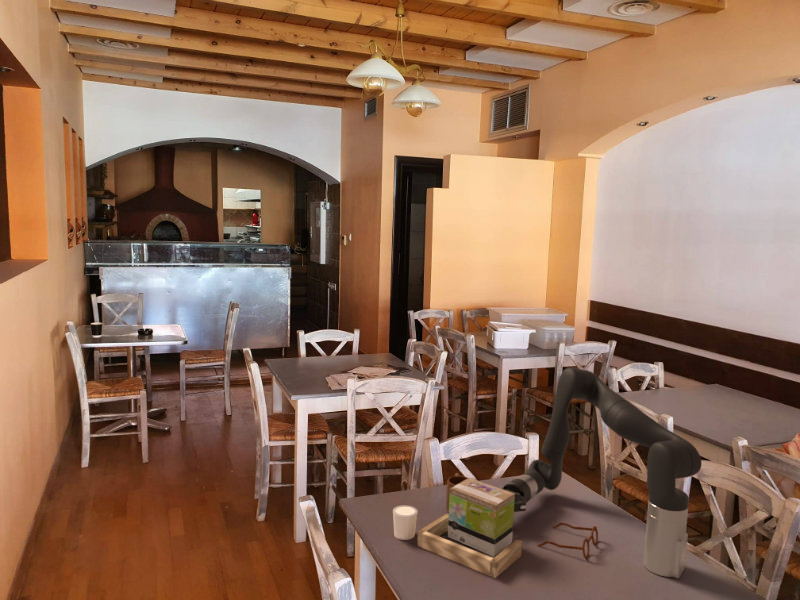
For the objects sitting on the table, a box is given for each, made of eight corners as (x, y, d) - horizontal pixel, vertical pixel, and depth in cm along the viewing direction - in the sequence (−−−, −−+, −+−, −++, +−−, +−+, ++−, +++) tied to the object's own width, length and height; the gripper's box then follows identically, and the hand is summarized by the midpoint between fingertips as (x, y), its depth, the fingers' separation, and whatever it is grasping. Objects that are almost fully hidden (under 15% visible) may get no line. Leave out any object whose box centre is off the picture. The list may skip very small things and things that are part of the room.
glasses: (585, 562, 163) (586, 544, 162) (536, 547, 170) (537, 530, 169) (598, 541, 174) (599, 524, 173) (552, 528, 181) (553, 511, 180)
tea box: (446, 538, 172) (448, 487, 170) (466, 525, 180) (468, 476, 178) (493, 558, 163) (496, 504, 161) (513, 543, 170) (516, 491, 169)
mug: (443, 498, 197) (444, 469, 196) (467, 498, 197) (469, 470, 196) (447, 516, 185) (448, 485, 184) (472, 516, 185) (474, 486, 184)
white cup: (395, 542, 169) (396, 517, 169) (389, 530, 176) (389, 506, 175) (420, 539, 171) (420, 515, 170) (412, 527, 178) (413, 503, 177)
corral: (521, 555, 164) (522, 541, 164) (495, 578, 154) (495, 562, 153) (446, 527, 179) (446, 513, 178) (417, 545, 168) (417, 531, 167)
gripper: (501, 472, 191) (471, 490, 178) (541, 484, 183) (513, 504, 170) (499, 496, 192) (469, 516, 179) (539, 509, 184) (511, 531, 171)
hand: (491, 510), depth 174 cm, fingers closed
